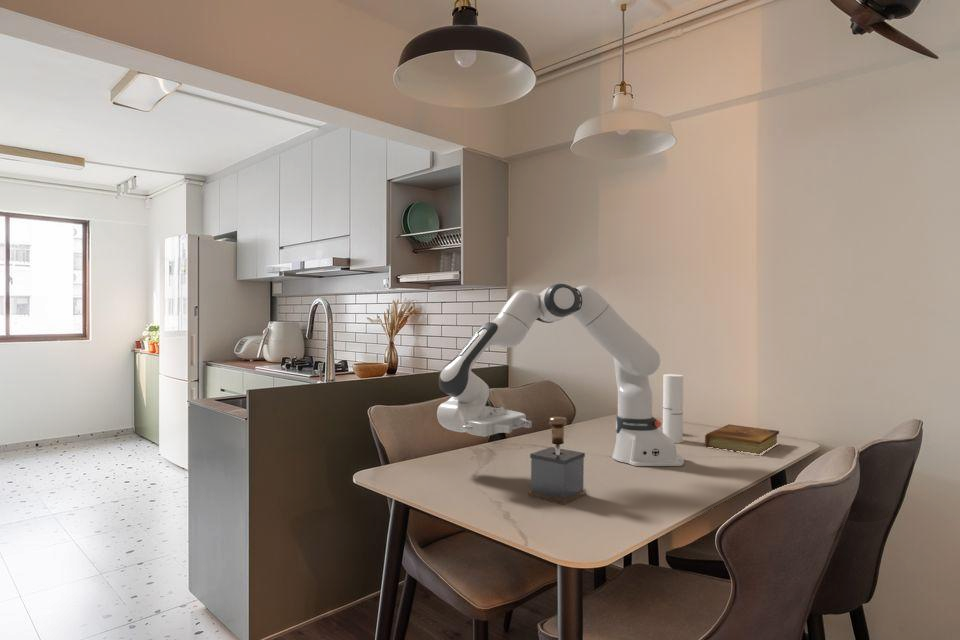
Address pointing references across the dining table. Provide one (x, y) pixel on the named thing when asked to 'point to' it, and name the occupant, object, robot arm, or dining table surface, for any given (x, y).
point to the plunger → (557, 432)
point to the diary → (741, 438)
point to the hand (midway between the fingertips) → (520, 427)
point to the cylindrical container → (673, 407)
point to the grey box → (557, 475)
